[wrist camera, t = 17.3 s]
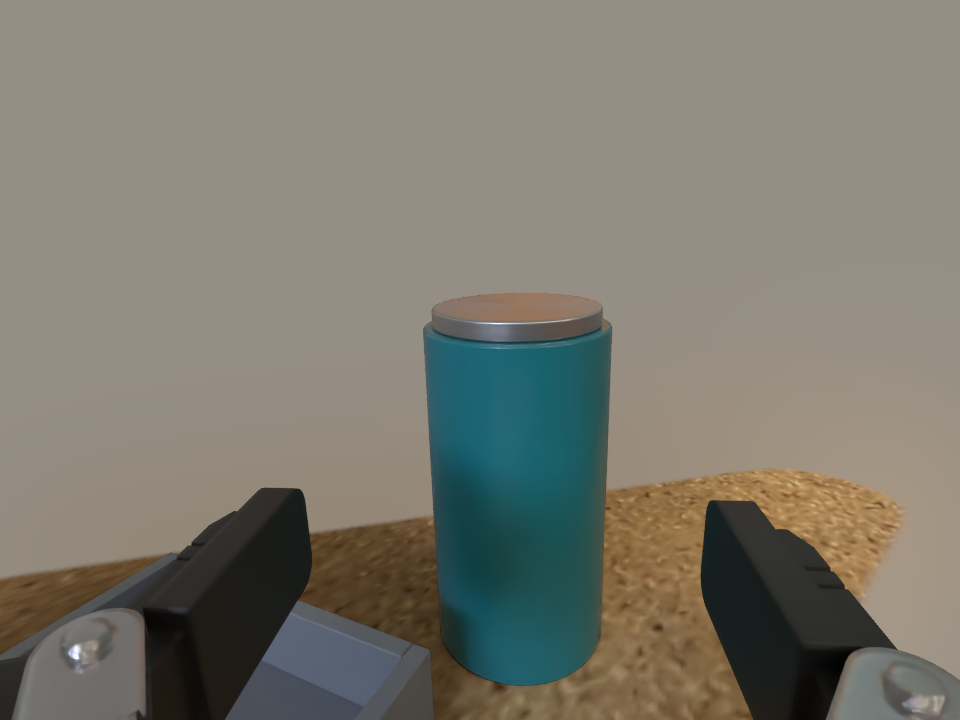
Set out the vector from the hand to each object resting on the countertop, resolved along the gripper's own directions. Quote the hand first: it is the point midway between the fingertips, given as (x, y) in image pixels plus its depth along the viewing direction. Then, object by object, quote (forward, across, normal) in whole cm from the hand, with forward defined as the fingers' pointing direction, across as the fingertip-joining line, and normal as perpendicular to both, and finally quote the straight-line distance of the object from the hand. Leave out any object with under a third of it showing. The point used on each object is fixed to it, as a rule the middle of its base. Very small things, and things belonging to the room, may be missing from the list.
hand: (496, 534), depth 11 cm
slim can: (+8, 0, +9) cm, 12 cm away
